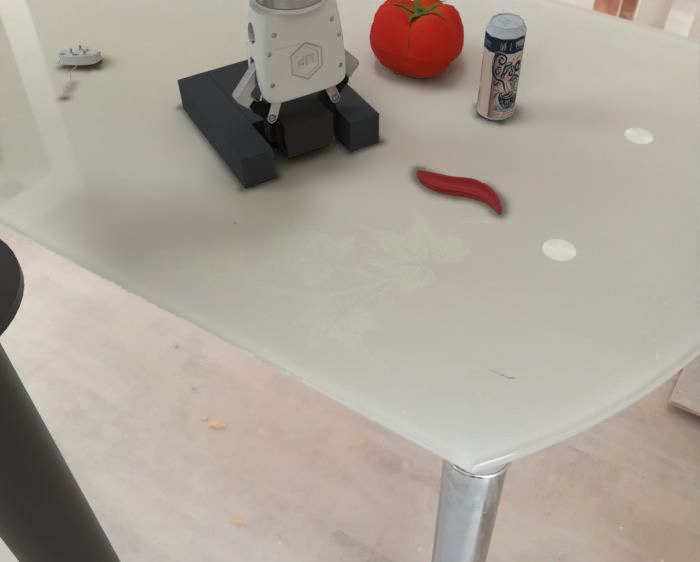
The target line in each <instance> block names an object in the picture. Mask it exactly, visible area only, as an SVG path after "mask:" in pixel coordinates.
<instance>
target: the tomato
mask: <svg viewBox="0 0 700 562" xmlns="http://www.w3.org/2000/svg"><path fill="white" fill-rule="evenodd" d="M445 2H446V0H385V1H384V2H382V4H381V5H380V6H379V7H377V10H376V12H374V16H373V21H372V24H371V26H370V30H369V37H368V38H369V45H370V48H371V50H372V52H373V54H374V56H375V57H376V59H377V60H378V61H379V63H380V64H381V65H382V66H383V67H384V68H386V69H388V70H389V71H391V72H393V73H394V74H399V75H404V76H408V77H413V78H417V79H424V78H432V77H435V76H437V75H440V74H442V73H444V72H446V71H447V69H448V67H449V66H450V65H451V63H452V62H454V61H455V60H457V59H458V58H459V56H460V55H461V53H462V51H463V48H464V43H465V30H464V25H463V20H462V17H461V15H460V11H459V10H458V9H457V8H456V7H455V6H454V5H453V4H449V3H445Z"/></svg>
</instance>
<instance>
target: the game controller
mask: <svg viewBox="0 0 700 562" xmlns="http://www.w3.org/2000/svg"><path fill="white" fill-rule="evenodd" d="M77 47H78V48H76V49H74V50H73V49H72V47H69V48H68V49H66V48H65V49H64V48H63V49H60V50H59V51H58V53H57V56H58V59H59V63H60V65H65V66H75V67H72V68H71V71H70V74H69V78H70V81H69V84H68V86H65V88H64V90H63V95H62V96H63V99H66V97H65V93H66V90H67V88H70V86H71V83H72V73H73V71H74V69H77V67H78V66H89V65H94V64H98V63H99V62H100V61H101V60H103V57H102V53H101V50H100V49H97V48H95V49H92V50H89V46H88V45H81V44H78V45H77Z"/></svg>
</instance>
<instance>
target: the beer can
mask: <svg viewBox="0 0 700 562" xmlns="http://www.w3.org/2000/svg"><path fill="white" fill-rule="evenodd" d="M527 28H528V27H527V24H526V22H525V19H524V18H523V17H522V16H521V15H520V14H515V13H511V12H500V13H497V14H495V15H492V16H491V18H490V20H489V21H488V23H487V24H486V26H485V32H484V41H483V49H482V58H481V68H480V77H479V83H478V84H479V85H478V94H477V102H476V111H477V113H478V115H480V116H481V117H483V118H485V119H487V120H490V121H502V120H505V119H508V118H510V117H512V116H513V115H514V113H515V107H516V101H517V95H518V87H519V81H520V74H521V70H522V69H521V68H522V62H523V56H524V49H525V43H526V36H527V32H528V29H527Z"/></svg>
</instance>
